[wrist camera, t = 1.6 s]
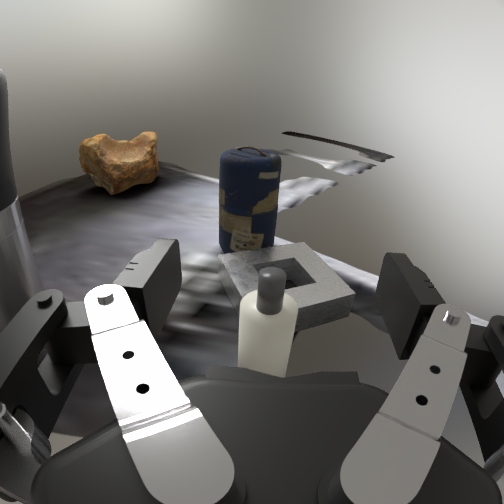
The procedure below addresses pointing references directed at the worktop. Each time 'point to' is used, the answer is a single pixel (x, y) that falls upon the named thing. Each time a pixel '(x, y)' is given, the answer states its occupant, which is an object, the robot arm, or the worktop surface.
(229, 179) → the canister
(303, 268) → the grey square socket block
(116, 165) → the rough brown rock
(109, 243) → the worktop surface
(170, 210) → the worktop surface
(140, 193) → the worktop surface
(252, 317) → the capped white bottle
